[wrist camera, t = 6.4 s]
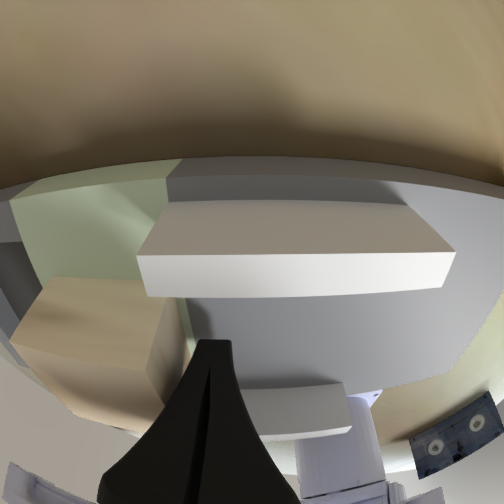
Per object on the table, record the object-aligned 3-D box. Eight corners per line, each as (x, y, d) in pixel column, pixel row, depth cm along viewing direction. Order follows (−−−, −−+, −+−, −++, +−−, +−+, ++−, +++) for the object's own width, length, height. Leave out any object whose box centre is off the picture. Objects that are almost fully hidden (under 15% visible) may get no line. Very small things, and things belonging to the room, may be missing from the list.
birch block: (194, 369, 13) (186, 438, 10) (96, 358, 13) (76, 415, 10) (172, 280, 10) (145, 371, 6) (52, 276, 10) (8, 340, 6)
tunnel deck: (437, 348, 18) (461, 401, 13) (29, 344, 17) (6, 390, 13) (510, 189, 10) (570, 236, 5) (-40, 202, 10) (-88, 244, 5)
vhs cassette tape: (410, 439, 37) (420, 479, 29) (407, 438, 36) (418, 480, 27) (488, 393, 31) (504, 432, 22) (489, 389, 29) (506, 430, 21)
